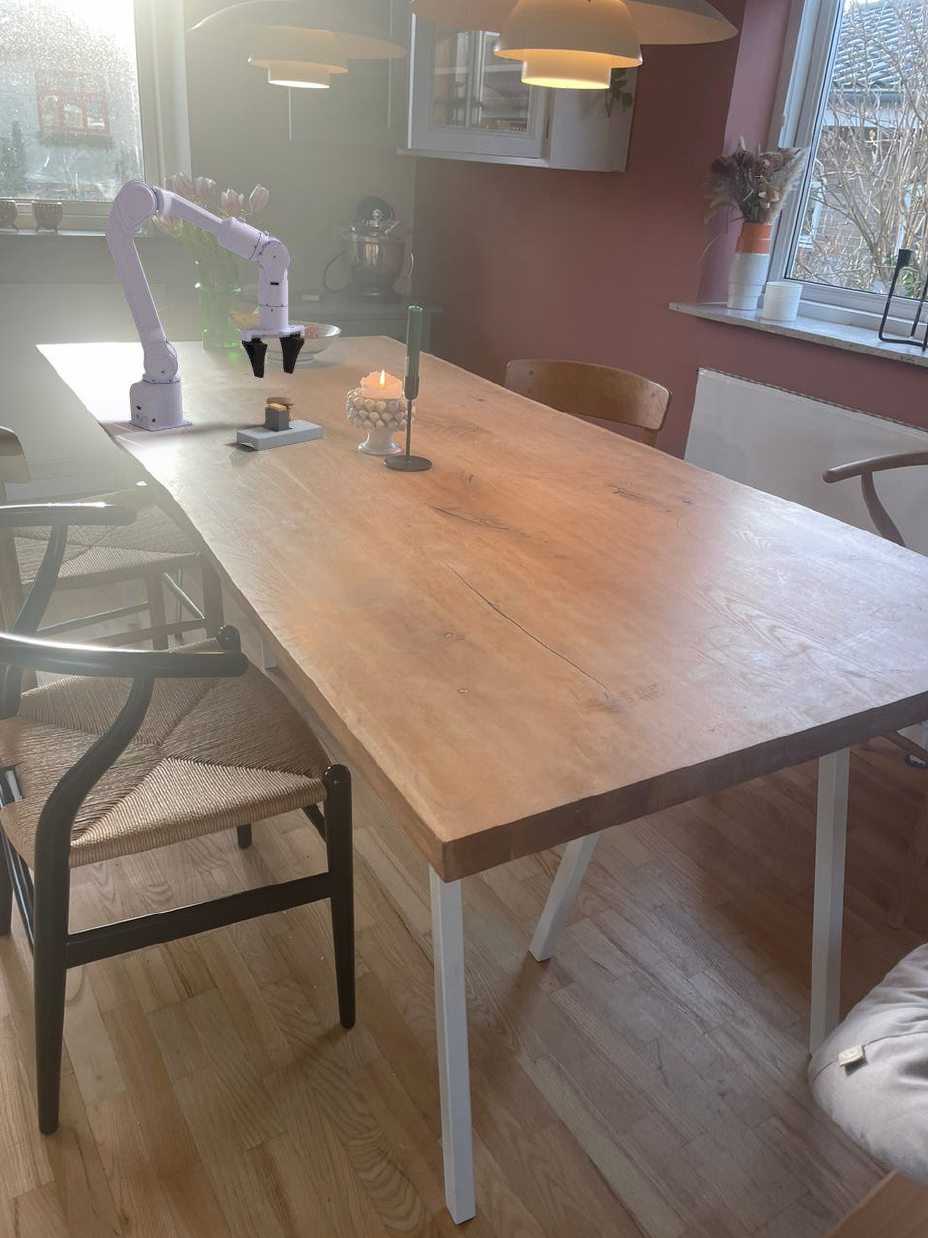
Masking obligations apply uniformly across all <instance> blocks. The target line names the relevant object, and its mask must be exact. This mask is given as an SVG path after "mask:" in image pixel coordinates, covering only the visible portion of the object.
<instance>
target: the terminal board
mask: <svg viewBox="0 0 928 1238" xmlns="http://www.w3.org/2000/svg"><path fill="white" fill-rule="evenodd" d="M323 430H324V427H323V426H321V425H318V424H316V423H312V422H309V421H306V420H303V419H297V420H293V421H291V422H289V430H285V431H279V432H274V431H271V430H268V429H266V427H261V426H258V427H253V428H247V429H242V430H237V431H236V444H239V445H242V444H241V443H251V444H252V445H253V446H254V449H253V450H256V451H258V452H260V451H264V450H268V449H269V450H270V449H274V448H279V447H284V446H289V445H293V444H294V445H295V444H299V443H303V442H308V441H313V440H319V439H322V438H323V437H324V436H323V434H324V433H323Z"/></svg>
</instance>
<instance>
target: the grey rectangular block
mask: <svg viewBox="0 0 928 1238" xmlns="http://www.w3.org/2000/svg"><path fill="white" fill-rule="evenodd" d="M264 410H265V411H264V413H265V415H264V416H265V417H264V418H265V421H264V426H265V429H268V430H271V431H274V432H279V431H285V430H289V410H288V409H286V406H283V405H279V404H276V403H274V404H267V406H265V409H264Z"/></svg>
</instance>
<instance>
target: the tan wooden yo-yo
mask: <svg viewBox="0 0 928 1238" xmlns="http://www.w3.org/2000/svg"><path fill="white" fill-rule="evenodd" d="M265 400H266V401H265V403H266V404H267V405H268V404H274V403H276V404H279V405H283V406H286V409H288V410H289V422H291V421H294V420H293V419H292V407H291V406H294V405H295V404H296V403H295V402H296V401H295V399H294V398H290V397H286V396H285V397H284V396H273V397H268V398H267V399H265Z"/></svg>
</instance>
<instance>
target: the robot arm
mask: <svg viewBox="0 0 928 1238" xmlns="http://www.w3.org/2000/svg"><path fill="white" fill-rule="evenodd" d="M156 211H157V213H158V217H159V218H160V217H161V218H162V217H177V218H179V219H181V220H183V221H185V222H187V223H190V224H191V225H193V226H196V227H197V228H200V229H202V230H204V231H206V232H208V233H211V234H212V235H215V236H216V238H217V240H218V241H217V242H218V243H219V246H221V247H222V248H224V249H226V250H228V251H230V252H232V253H234V254H236V255H238V256H240V257H242V258H244V259H245V260H248V261H250V262H255V261H257V263H258V264H259V265H258V279H257V291H258V292H257V295H258V296H257V301H258V303H257V304H258V305H257V308H258V309H257V310H258V314H257V315H258V326H255V327H250V328H245V329H240V340H241V345H242V346H243V348H244V350H245V351H246V354H247V356H248V358H249V361H250V362H249V363H250V365H251V367H252V372H253V376H254V377H255V378H259V379H263V378H265V376H264V375H265V362H266V361H265V360H266V355H267V354H266V353H267V350H268V346H269V345H268V343H264V342H263V341H262V340H267V339H279V342H280V346H281V351H282V369H283V373H286V374H288V375H289V374H290V375H292V374H294V371H295V367H296V363H297V359H298V356H299V353H300V352H301V350H302V348H303V346H304V345H305V341H306V339H305V335H306V334H305V331H306V330H305V326H304V325H303V324H302V325H301V324H289V281H288V273H289V272H288V268H289V266H290V263H291V257H290V253H289V250H288V248H287V246H286V245H285V244H284V243H283V242H281V241H280V240H279V239H277V237H275V236H269V235H270V232H268V231H266V230H263V231H261V230H259V229H257V228H255V227H253V226H251V225H250V224H247V223H246V219H244V218H243V217H241V216H238V217H237V218H236V217H234V216H228V217H226V218H220V217H218V216H216V215H215V214H214V213H211V212H210V211H208V210H206V209H203V208H202V207H201V206H198V205H197V204H195V203H193V202H192V201H190V200H187V199H185V198H184V197H182V196H181V195H178V194H177V193H176V192H173V191H170V190H169V189H165V188H162V187H159V186H156V185H152V186H151V185H150V184H149V183H148V182H146V181H144V180H141V179H131V180H129V181H127V182H125V183H124V185H123V186H122V188H121V189H119V191H118V192H117V194H116V196H115V197H114V198H113V202H112V206H111V210H110V214H109V217H108V220H107V224H106V227H105V231H104V235H105V240H106V243H107V245H108V246H107V247H108V249H109V252H110V254H111V257H112V260H113V263H114V266H115V268H116V271H117V275H118V277H119V280H120V284H121V287H122V288H123V289H122V290H123V292H124V294H125V298H126V301H127V303H128V307H129V309H130V310H129V311H130V312H131V315H132V318H133V322H134V323H135V327H136V330H137V332H138V337H139V339H140V345H141V348H142V349H143V363H142V364H143V370H144V373H143V374H142V378H141V380H140V381H137V382H136V381H135V382H134V383H132V384H131V385H130V387H129V392H128V395H129V404H130V405H129V406H130V407H129V408H130V418H131V419H130V420H129V424H131V425H134V426H137V427H140V428H142V429H145V430H146V431H150V432H158V431H163V430H169V429H170V430H171V429H173V428H174V429H176V428H181V427H186V426H192V425H193V422H192V421H190V420H187V419H184V415H183V413H184V412H183V392H182V376H181V375H180V374H178V370H179V363H178V354H177V353H178V352H177V351H176V348H175V347H174V346H173V344H171V343H170V341H169V340H168V338H167V337H166V336H167V335H166V333H165V330H164V327H163V324H162V322H161V319H160V317H159V314H158V311H157V307H156V303H155V302H154V298H153V296H152V292H151V289H150V285H149V283H148V280H147V277H146V274H145V271H144V268H143V265H142V262H141V259H140V256H139V253H138V250H137V248H136V247H137V246H136V244H135V241H134V239H135V238H136V235H137V234H138V232H139V231H140V229H141V227H142V226H143V224H144V223H146V222H147V221H148V220H149V219H150V218H151V217H153V215H154V214H155V212H156Z"/></svg>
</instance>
